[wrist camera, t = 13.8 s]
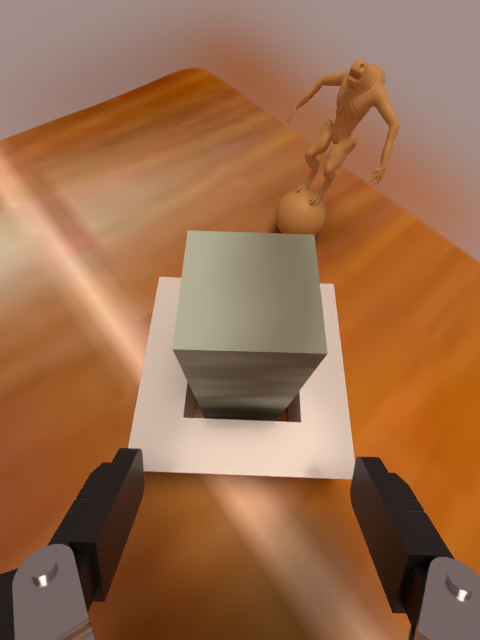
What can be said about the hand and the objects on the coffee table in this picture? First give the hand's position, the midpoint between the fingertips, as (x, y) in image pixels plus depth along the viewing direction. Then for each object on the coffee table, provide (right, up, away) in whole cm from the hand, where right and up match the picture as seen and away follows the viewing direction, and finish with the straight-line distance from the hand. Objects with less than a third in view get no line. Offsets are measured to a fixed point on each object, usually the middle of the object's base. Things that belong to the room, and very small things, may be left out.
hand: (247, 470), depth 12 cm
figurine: (+5, +14, +16) cm, 21 cm away
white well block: (0, +1, +9) cm, 9 cm away
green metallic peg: (0, +1, +9) cm, 9 cm away
